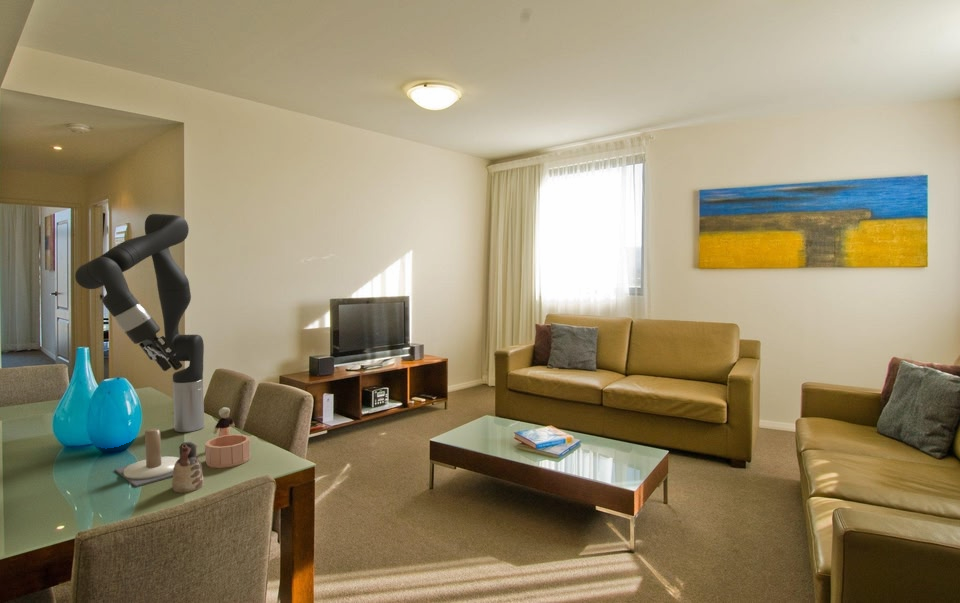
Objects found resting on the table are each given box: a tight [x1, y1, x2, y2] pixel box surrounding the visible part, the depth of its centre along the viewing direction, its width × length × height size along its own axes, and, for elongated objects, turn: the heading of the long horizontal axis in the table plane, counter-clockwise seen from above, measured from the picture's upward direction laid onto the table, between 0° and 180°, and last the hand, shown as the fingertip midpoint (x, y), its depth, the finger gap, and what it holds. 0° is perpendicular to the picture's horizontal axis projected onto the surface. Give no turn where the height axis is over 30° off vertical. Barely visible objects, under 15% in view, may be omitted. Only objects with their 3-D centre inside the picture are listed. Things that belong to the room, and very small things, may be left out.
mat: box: [114, 454, 173, 488], centre depth 146 cm, size 17×14×1 cm
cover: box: [124, 428, 180, 479], centre depth 146 cm, size 14×14×11 cm
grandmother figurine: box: [213, 406, 236, 437], centre depth 166 cm, size 8×4×13 cm, turn 168°
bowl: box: [204, 433, 251, 469], centre depth 154 cm, size 12×12×6 cm
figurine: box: [171, 441, 205, 494], centre depth 135 cm, size 7×7×12 cm
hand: (173, 368), depth 152 cm, fingers open, 8 cm apart
